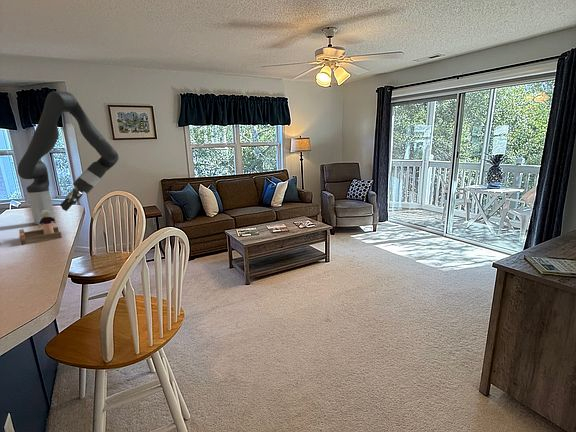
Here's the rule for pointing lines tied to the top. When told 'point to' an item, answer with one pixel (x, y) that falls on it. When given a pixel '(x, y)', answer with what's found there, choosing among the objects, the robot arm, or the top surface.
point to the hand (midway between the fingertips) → (62, 208)
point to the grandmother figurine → (47, 222)
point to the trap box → (38, 236)
